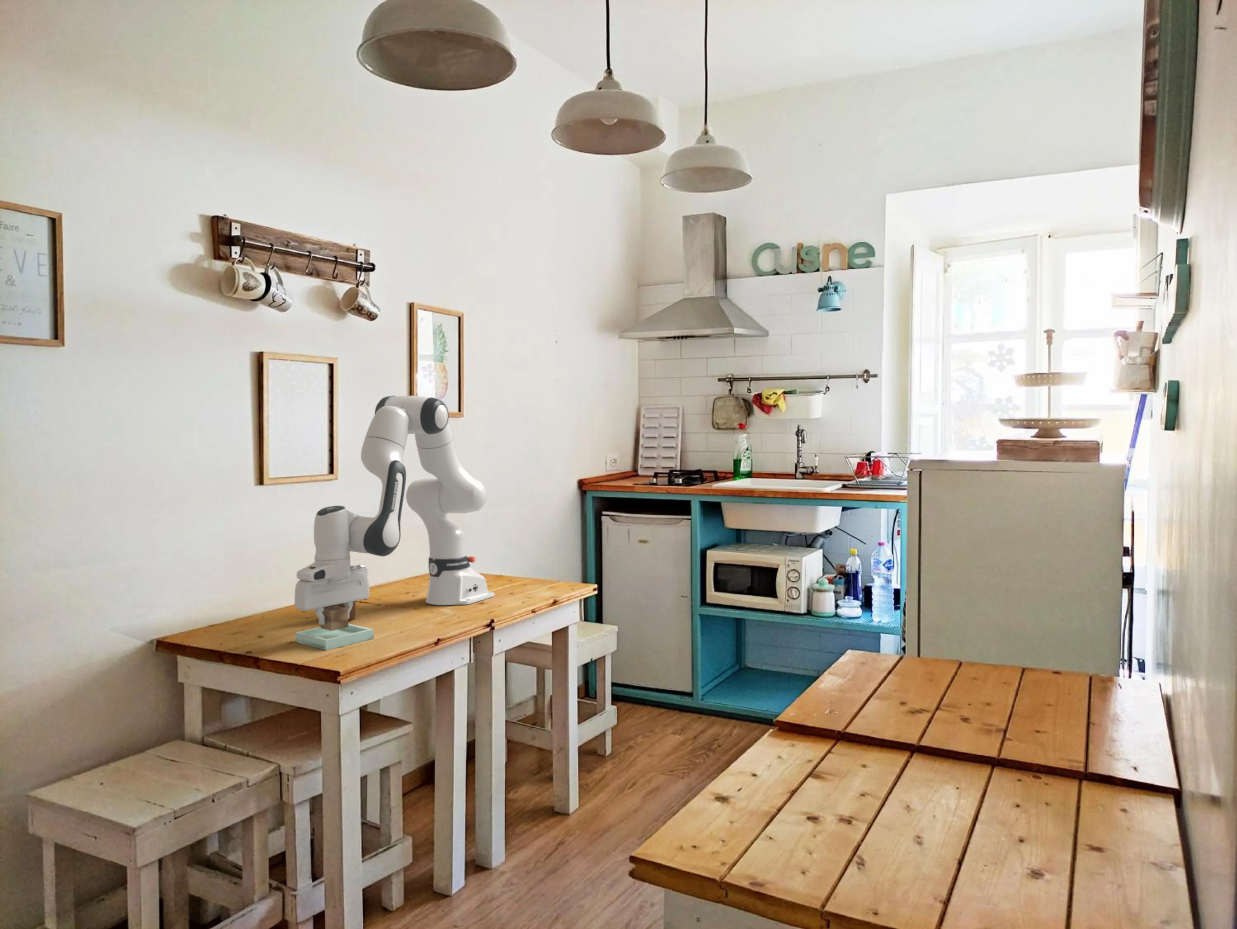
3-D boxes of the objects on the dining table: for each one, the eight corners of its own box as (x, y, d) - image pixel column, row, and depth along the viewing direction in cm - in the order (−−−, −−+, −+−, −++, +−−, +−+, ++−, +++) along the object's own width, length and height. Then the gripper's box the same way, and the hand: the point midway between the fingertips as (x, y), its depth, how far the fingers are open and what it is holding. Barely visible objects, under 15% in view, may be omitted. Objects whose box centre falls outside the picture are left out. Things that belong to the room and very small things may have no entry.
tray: (342, 631, 234) (342, 622, 234) (373, 638, 225) (373, 629, 225) (295, 642, 223) (295, 632, 223) (326, 650, 214) (325, 640, 214)
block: (337, 624, 227) (336, 605, 227) (348, 627, 224) (347, 608, 224) (320, 628, 223) (319, 609, 223) (331, 630, 220) (330, 611, 220)
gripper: (359, 562, 233) (361, 612, 234) (290, 573, 217) (292, 627, 218) (373, 564, 229) (375, 615, 230) (304, 575, 213) (305, 630, 214)
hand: (334, 621), depth 224 cm, fingers closed on block, 5 cm apart
